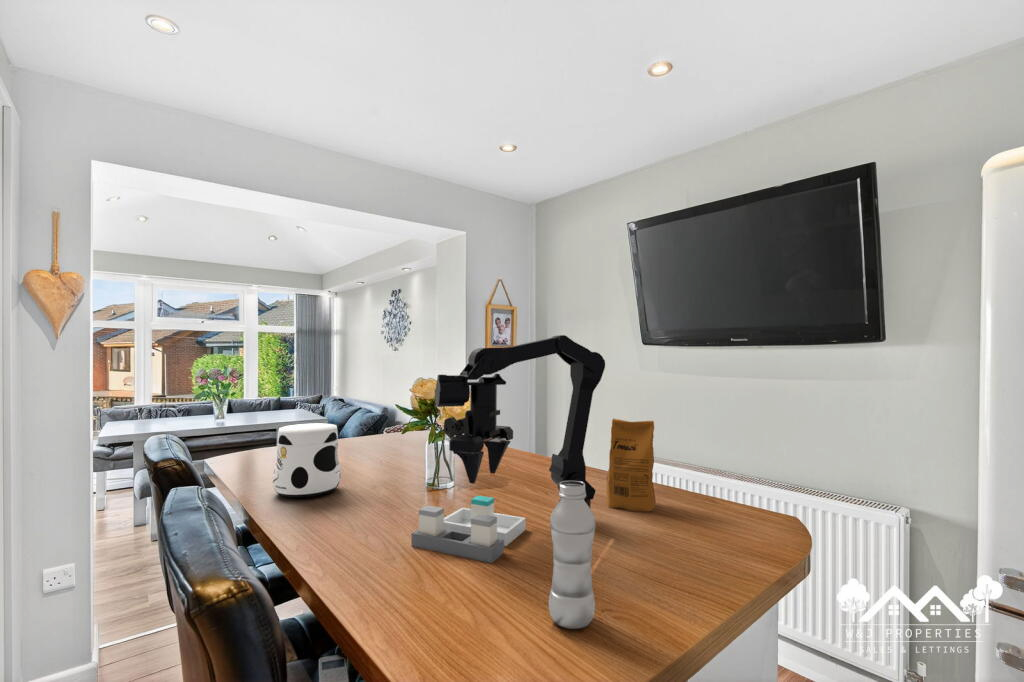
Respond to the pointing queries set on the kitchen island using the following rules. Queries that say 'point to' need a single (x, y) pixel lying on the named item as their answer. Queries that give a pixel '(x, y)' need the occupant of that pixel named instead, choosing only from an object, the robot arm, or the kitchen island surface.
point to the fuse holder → (458, 545)
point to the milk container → (307, 460)
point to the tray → (506, 524)
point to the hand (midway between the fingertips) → (482, 478)
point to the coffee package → (631, 466)
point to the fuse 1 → (431, 520)
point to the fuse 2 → (484, 530)
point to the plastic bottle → (572, 558)
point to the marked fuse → (482, 506)
